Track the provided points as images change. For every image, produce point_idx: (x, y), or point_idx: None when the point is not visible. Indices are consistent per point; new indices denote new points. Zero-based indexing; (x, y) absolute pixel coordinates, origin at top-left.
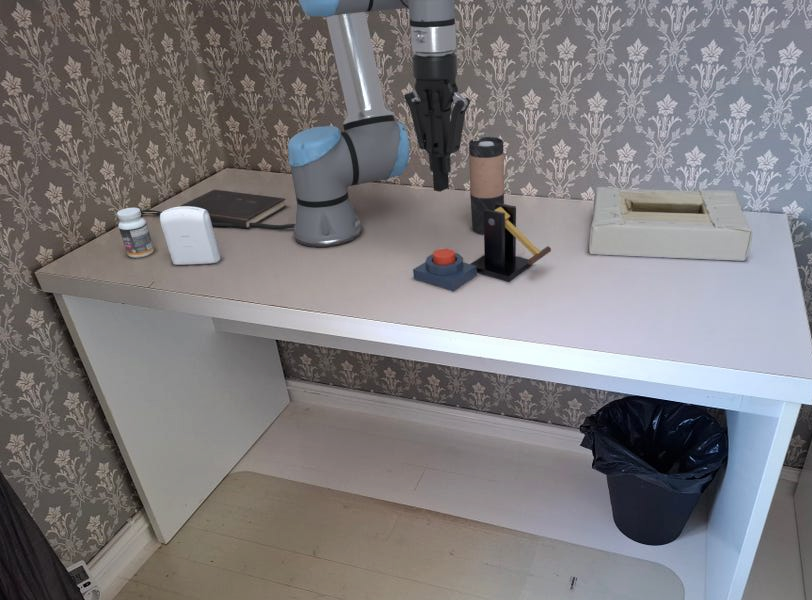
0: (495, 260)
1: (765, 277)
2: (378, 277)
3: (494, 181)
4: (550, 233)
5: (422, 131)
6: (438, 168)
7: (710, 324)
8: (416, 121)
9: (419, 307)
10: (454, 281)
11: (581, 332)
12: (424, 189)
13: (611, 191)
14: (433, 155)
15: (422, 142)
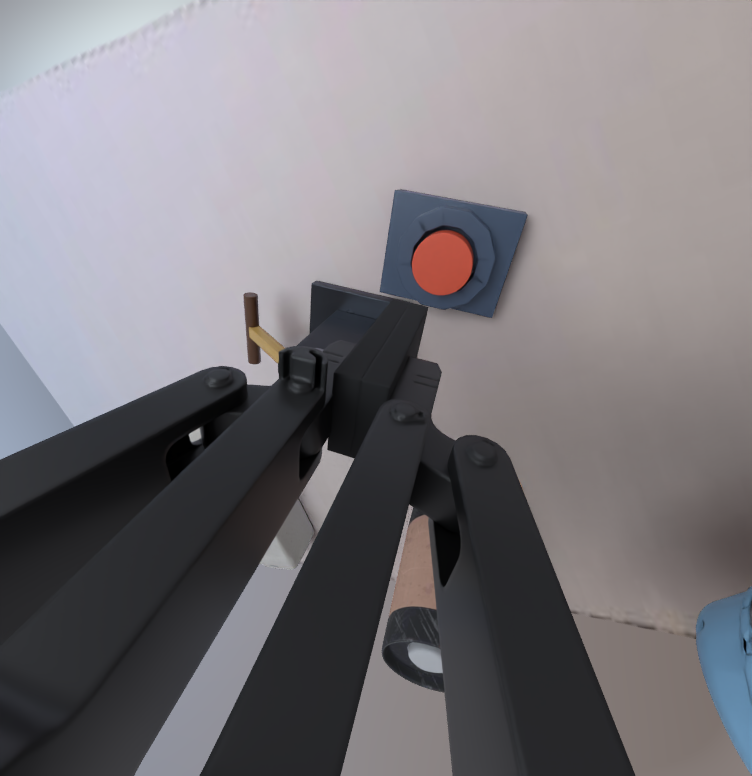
0: (347, 318)
1: (72, 397)
2: (640, 179)
3: (409, 549)
4: (343, 473)
5: (468, 585)
6: (363, 341)
7: (26, 251)
8: (553, 756)
9: (445, 48)
10: (394, 196)
11: (112, 129)
12: (647, 618)
13: (267, 555)
14: (378, 392)
15: (466, 475)
